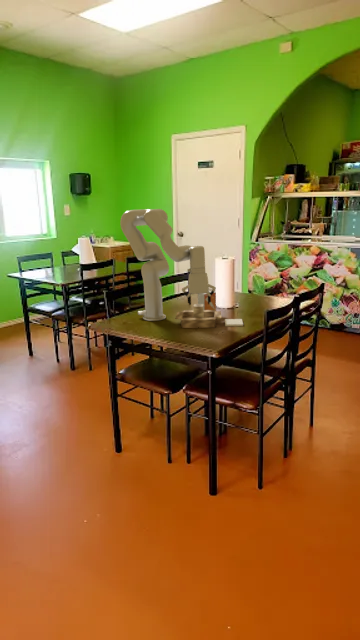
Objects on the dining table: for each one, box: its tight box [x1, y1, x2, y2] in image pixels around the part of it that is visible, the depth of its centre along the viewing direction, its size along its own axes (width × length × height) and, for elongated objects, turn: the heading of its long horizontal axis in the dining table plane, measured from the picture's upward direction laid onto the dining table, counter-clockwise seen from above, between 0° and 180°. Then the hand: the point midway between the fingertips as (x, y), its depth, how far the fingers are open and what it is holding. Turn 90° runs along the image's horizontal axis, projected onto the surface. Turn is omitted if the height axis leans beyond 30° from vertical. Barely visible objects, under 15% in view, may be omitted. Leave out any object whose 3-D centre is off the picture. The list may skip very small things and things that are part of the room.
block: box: [192, 303, 204, 318], centre depth 225 cm, size 5×6×10 cm
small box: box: [197, 290, 217, 311], centre depth 242 cm, size 8×6×13 cm
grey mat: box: [224, 318, 244, 327], centre depth 225 cm, size 9×10×1 cm
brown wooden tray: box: [174, 309, 222, 329], centre depth 226 cm, size 23×19×5 cm
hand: (199, 304), depth 224 cm, fingers open, 9 cm apart
